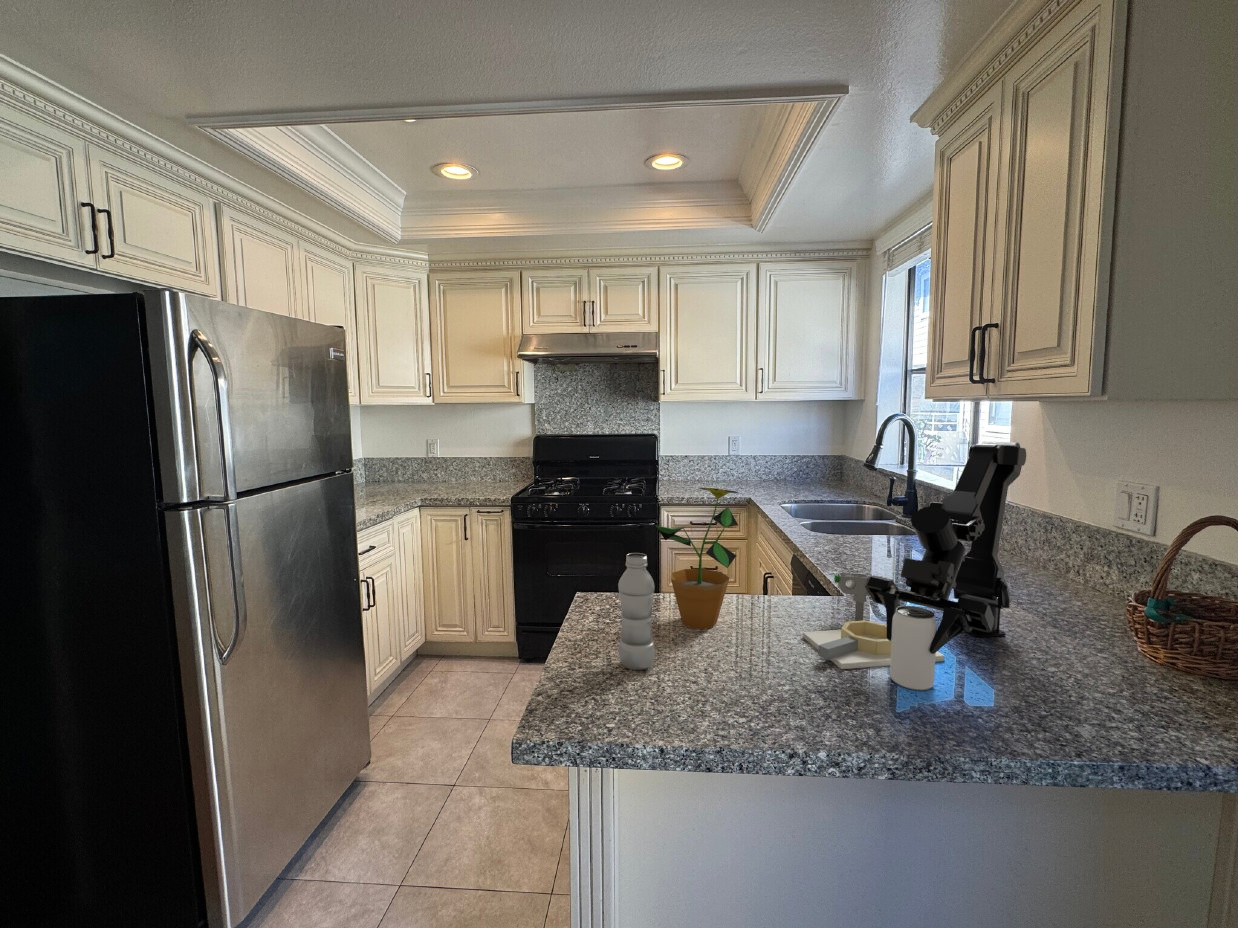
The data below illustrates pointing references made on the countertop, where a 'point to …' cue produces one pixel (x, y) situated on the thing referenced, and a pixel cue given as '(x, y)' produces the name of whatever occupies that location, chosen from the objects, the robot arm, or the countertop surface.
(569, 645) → the countertop surface
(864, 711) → the countertop surface
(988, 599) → the robot arm
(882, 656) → the octagonal ring fixture plate
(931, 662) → the can
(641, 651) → the plastic bottle
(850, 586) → the mechanical component
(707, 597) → the potted plant
